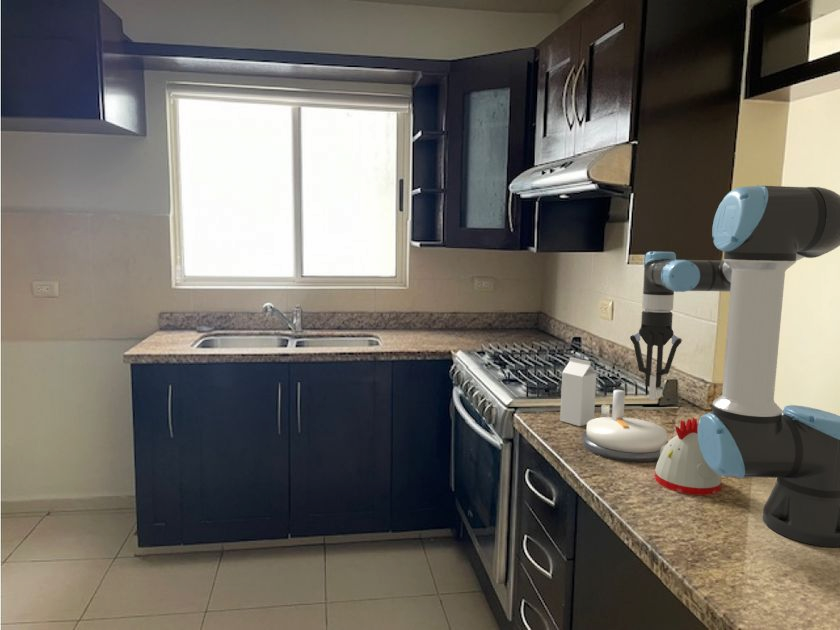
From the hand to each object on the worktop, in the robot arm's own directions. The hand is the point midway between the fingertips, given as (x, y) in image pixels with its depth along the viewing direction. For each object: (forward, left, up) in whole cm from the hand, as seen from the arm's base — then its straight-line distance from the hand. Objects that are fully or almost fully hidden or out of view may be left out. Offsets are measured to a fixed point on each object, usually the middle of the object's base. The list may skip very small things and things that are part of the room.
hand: (652, 398), depth 163 cm
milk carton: (+10, +21, -13) cm, 27 cm away
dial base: (-4, +5, -13) cm, 14 cm away
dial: (-6, +5, -11) cm, 13 cm away
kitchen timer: (-23, -11, -13) cm, 28 cm away
